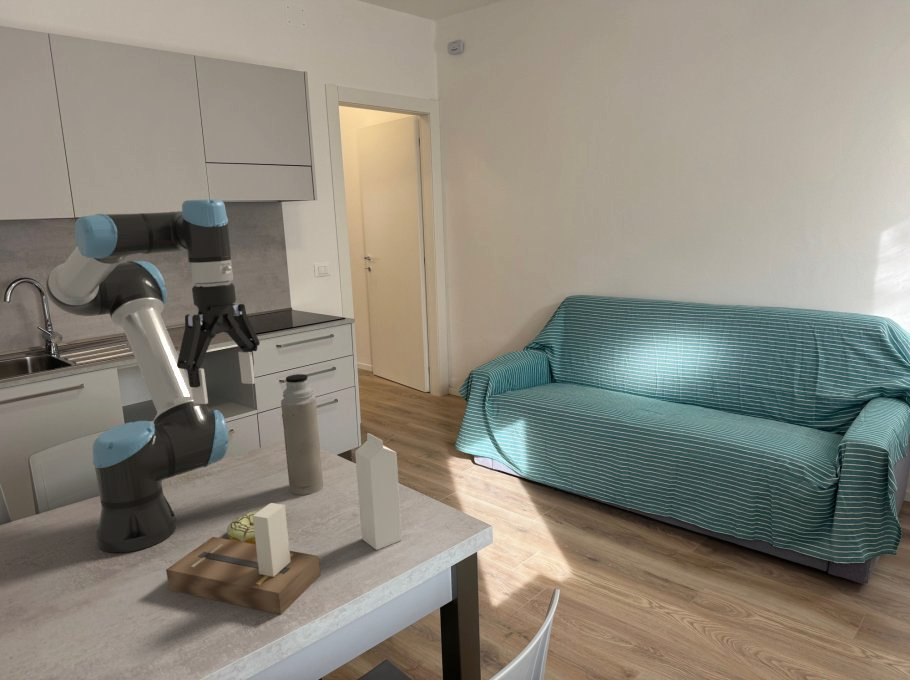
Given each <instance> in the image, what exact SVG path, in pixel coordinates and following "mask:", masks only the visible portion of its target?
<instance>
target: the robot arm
mask: <svg viewBox="0 0 910 680" xmlns="http://www.w3.org/2000/svg"><path fill="white" fill-rule="evenodd" d="M74 238H75V243H76V247H75V249H74V250H73V251H72V253H71V254H70V255H69V256H68V257H67V259H66V261H65V262H64V263H60V264H58V265H56V266H55V267H54V268H53V269H52V270H51V272H50V273H49V274H48V276H47V278H46V282H45V289H46V290H45V291H46V293H47V297H49V300H50V301H51V302H52V304H54V305H55V306H56V307H57V308H59V309H60V310H62V311H64V312H66V313H68V314H72V315H75V316H82V317H92V316H93V317H94V316H100V315H102V316H103V315H109V316H110V318H111V321H112V322H113V324H114V325H116V326H118V327H122V329H123V331H124V334H125V337H126V339H127V341H128V343H129V346H130V349H131V351H132V354H133V355H134V358H135V361H136V363H137V365H138V369H139V371H140V373H141V376H142V377H143V378H142V379H143V381H144V383H145V385H146V388H147V391H148V393H149V396H150V398H151V400H152V403H153V405H154V407H155V410H156V415H155V417H154V418H153V423H152V422H151V421H148V420H137V421H130V422H125V423H122V424H119V425H117V426H114V427H112V428H109V429H107V430H105V431H103V432H102V433H101V434H100V435H98V437H96V438H95V440H94V441H93V444H92V455H93V456H92V459H93V460H92V465H93V466H94V469H95V475H96V481H97V488H98V492H99V498H100V499H99V500H100V504H101V505H100V506H101V510H100V517H99V521H98V528H97V530H96V541H97V546H98V548H99V549H100V550H101V551H102V550H103V551H104V552H108V553H116V554H117V553H130V552H136V551H140V550H143V549H147V548H149V547H153V546H155V545H157V544H159V543H160V542H161V543H162V542H163V541H165V540H167V538H169V537H170V536H171V535H173V534H174V533H175V532H176V530H177V528H178V525H177V518H176V514H175V512H174V510H173V509H172V507H171V505H170V503H169V501H168V499H167V498H166V496H165V494H164V492H163V484H162V483H163V482H162V481H163V480H167V479H170V478H173V477H176V476H179V475H182V474H185V473H188V472H192V471H195V470H197V469H201V468H207V467H208V466H209V465H212V464H215V463H218V462H221V461H222V460H223V459H224V457H225V456H226V454H227V452H228V448H229V430H228V425H227V422H226V418H225V417H224V415H223V413H222V412H221V411H220V410H219V409H211V410H210V409H209V407H208V405H207V404H209V399H208V391H207V384H206V374H205V369H204V368H201V366H202V364H203V361H204V359H205V356H206V355H207V351H208V349H209V347H210V345H211V342H212V340H213V338H215V337H216V335H218V334H221V333H223V332H225V333H227V335H228V336H229V337H230V338H231V339H232V340H233V342H234V343H235V344H236V346H238V348H239V349H240V350H241V351H238V361H239V362H238V363H239V369H240V377H241V378H240V380H241V384H246V385H247V384H248V385H253V384H256V379H255V369H254V365H255V361H254V352H257V351H258V346H259V345H260V340H259V338H258V335H257V333H256V332H255V329H254V328H253V325H252V323H251V321H250V319H249V317H248V314H247V311H246V305H245V304H244V303H236V302H237V297H236V287H235V284H234V283H232V281H233V280H234V275H233V274H234V273H233V264H232V256H231V255H232V254H231V245H230V233H229V219H228V215H227V211H226V205H225V203H224V201H222V200H221V199H189V200H184V201H183V202H182V204H181V211H179V210H178V211H169V212H168V211H167V212H166V211H165V212H146V213H145V212H144V213H143V212H141V213H110V214H109V213H108V214H107V213H106V214H105V213H96V214H91V215H90V214H89V215H83V216H80V217H79V218H77V220H76V221H75V228H74ZM175 252H187V258H188V259H187V260H188V261H187V262H188V268H189V279H190V283H191V284H193V285H194V286H193V287H192V288H191V292H192V299H193V304H194V306H195V307H197V310H198V312H197V314H186V315H185V316H184V332H183V336H182V341H181V344H180V348H179V349H180V350H179V353H178V352H177V350H176V348H175V345H174V343H173V340H172V338H171V336H170V333H169V331H168V329H167V326H166V325H165V322H164V319H163V317H162V316H161V314H162V312H163V311H164V308H165V304H166V302H167V299H168V292H167V288H166V287H165V286H166V283H165V280H164V277H163V275H162V273H161V272H160V270H159V269H158V268H157V267H156V265H154V264H153V263H152V262H148V261H145V260H142V261H139V260H137V261H136V260H128V261H126V262H122V261H123V260H124V259H125V258H126V257H127V256H135V255H136V256H138V255H148V254H159V253H160V254H162V253H175ZM185 370H186V371H187V373H186V371H185Z"/></svg>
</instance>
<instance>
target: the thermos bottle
mask: <svg viewBox="0 0 910 680" xmlns="http://www.w3.org/2000/svg"><path fill="white" fill-rule="evenodd" d="M307 380H308V375H307V374H303V373H297V374H292V375H288V376H286V377H285V381H286V382H285V383H286V384H285V387H286V388H285V389H284V390H283V392H282V393H283V394H282V400H281V401H280V405H281V406H280V407H281V415H282V425H283V434H284V435H283V436H284V445H285V455H286V465H287V475H288V484H289V485H288V486H289V492H290V493H292V494H294V495H300V496H303V495H304V496H305V495H310V494H313V493H314V494H315V493H318V492H319V491H320V490H322V489H323V487H324V478H323V477H324V475H323V467H322V459H321V443H320V433H319V432H320V431H319V422H318V420H319V419H318V410H317V408H318V407H317V398H316V397H315V396H314V395H313V394H314V392H313V389H312V387H310V386H308V385H309V384H308V381H307Z"/></svg>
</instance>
